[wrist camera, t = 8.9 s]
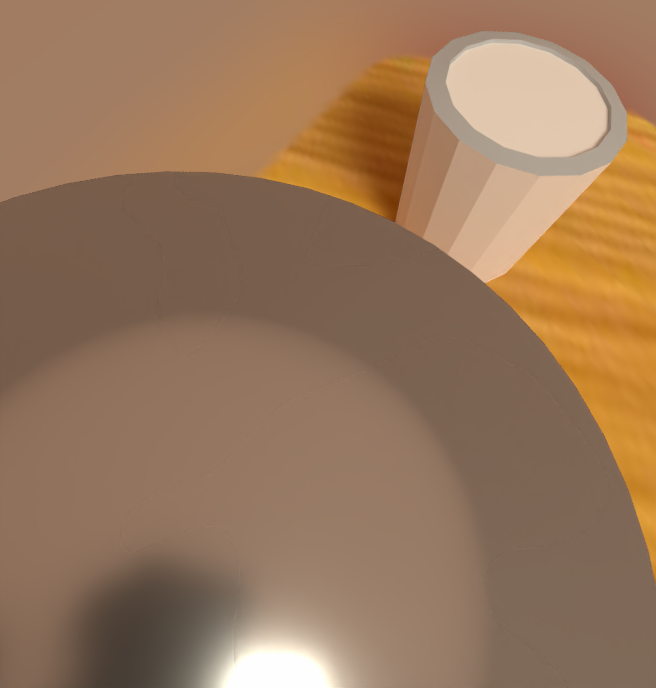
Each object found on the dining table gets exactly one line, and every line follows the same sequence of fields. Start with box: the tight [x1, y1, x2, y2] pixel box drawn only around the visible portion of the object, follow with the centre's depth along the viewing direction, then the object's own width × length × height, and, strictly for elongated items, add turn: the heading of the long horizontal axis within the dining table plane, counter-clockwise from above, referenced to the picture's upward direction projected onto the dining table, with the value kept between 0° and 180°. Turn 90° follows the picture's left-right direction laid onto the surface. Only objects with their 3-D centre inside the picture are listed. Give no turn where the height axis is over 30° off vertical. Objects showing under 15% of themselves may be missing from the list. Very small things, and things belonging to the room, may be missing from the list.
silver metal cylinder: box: [0, 172, 656, 688], centre depth 9 cm, size 6×6×14 cm
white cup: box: [395, 31, 627, 283], centre depth 21 cm, size 7×7×7 cm
